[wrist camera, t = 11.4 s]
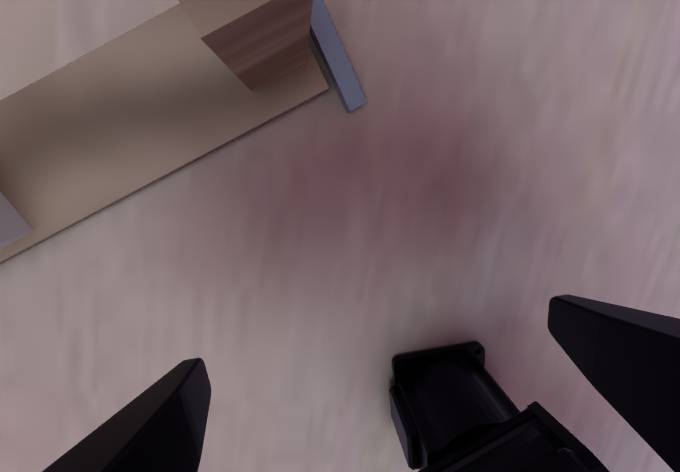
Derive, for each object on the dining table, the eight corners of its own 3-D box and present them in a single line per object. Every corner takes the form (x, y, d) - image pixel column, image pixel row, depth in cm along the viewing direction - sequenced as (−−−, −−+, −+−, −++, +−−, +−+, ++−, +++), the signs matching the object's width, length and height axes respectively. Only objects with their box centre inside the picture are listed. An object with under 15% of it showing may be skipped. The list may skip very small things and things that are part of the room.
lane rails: (363, 104, 18) (367, 102, 17) (-32, 313, 19) (-50, 322, 18) (180, -314, 13) (170, -350, 12) (-359, -10, 14) (-409, -21, 13)
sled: (327, 90, 18) (363, 33, 8) (-33, 281, 18) (-404, 441, 8) (269, -34, 16) (227, -297, 6) (-130, 182, 16) (-740, 245, 7)
